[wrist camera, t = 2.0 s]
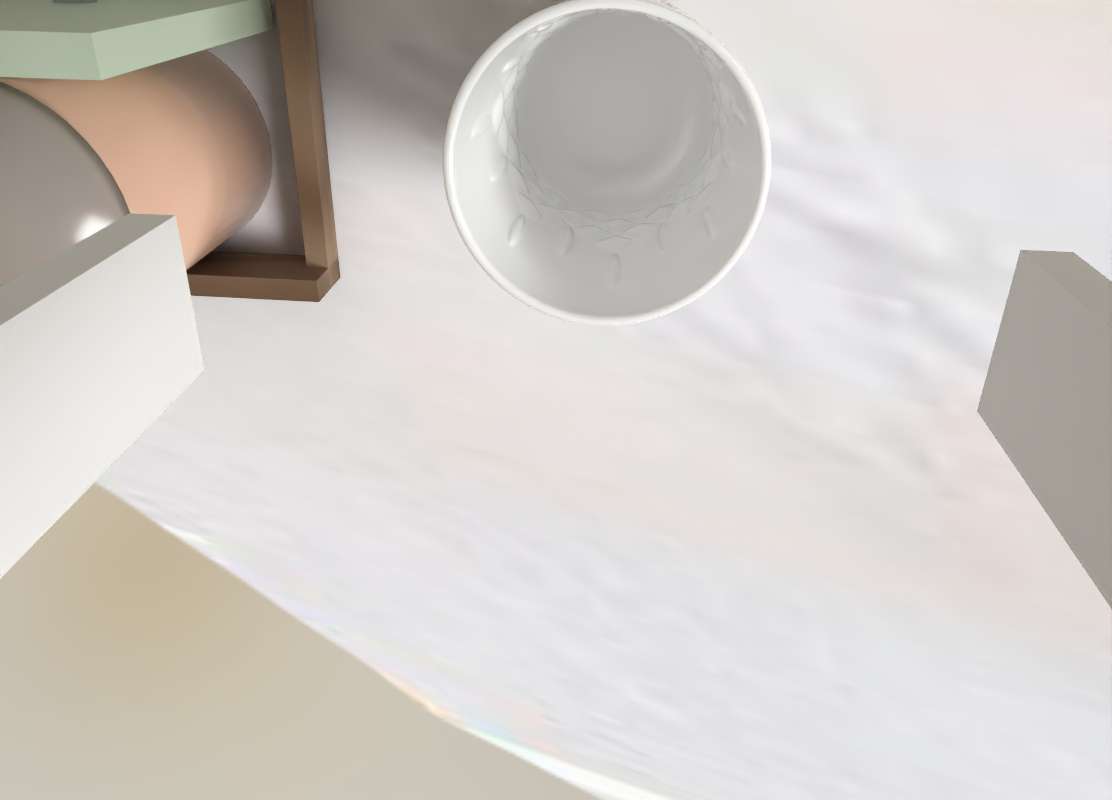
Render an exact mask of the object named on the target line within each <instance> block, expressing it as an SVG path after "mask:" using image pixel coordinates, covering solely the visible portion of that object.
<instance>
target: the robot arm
mask: <svg viewBox="0 0 1112 800" xmlns="http://www.w3.org/2000/svg"><path fill="white" fill-rule="evenodd" d="M204 370H205V368H204V363H203V358H202V352H201V347H200V342H199V336H198V331H197V326H196V320H195V315H194V310H193V304H192V299H191V294H190V289H189V283H188V278H187V273H186V267H185V262H184V257H183V251H182V246H181V241H180V235H179V230H178V225H177V219H176V215H158V214H134V213H129V214H128V215H126V216H124V217H122V218H121V219H119V220H117V221H115V222H114V223H112V224H110V225H108V226H107V227H105V228H103V229H101V230H99V231H98V232H96V233H94V234H92V235H91V236H89V237H87V238H85V239H84V240H82V241H80V242H78V243H77V244H75V245H73V246H71V247H70V248H68V249H66V250H64V251H63V252H61V253H59V254H57V255H56V256H54V257H52V258H50V259H48V260H47V261H45V262H43V263H41V264H40V265H38V266H36V267H34V268H33V269H31V270H29V271H27V272H26V273H24V274H22V275H20V276H19V277H17V278H15V279H13V280H12V281H10V282H8V283H6V284H5V285H3V286H1V287H0V578H1V577H2V576H3V575H4V574H5V573H6V572H7V571H8V570H9V569H10V568H11V567H12V566H13V565H14V564H15V563H16V562H17V561H18V560H19V559H20V558H21V557H22V556H23V555H24V554H25V553H26V552H27V551H28V550H29V549H30V548H31V547H32V545H34V544H35V543H36V541H37V540H38V539H39V538H40V537H41V536H42V535H43V534H44V533H45V532H46V531H47V530H48V529H49V528H50V527H51V526H52V525H53V524H54V523H55V522H56V521H57V520H58V519H59V518H60V517H61V516H62V515H63V514H64V513H65V512H66V511H67V510H68V509H69V508H70V507H71V506H72V505H73V504H74V503H75V502H76V501H77V500H78V499H79V498H80V497H81V496H82V494H84V492H85V491H86V490H87V489H88V488H89V487H90V486H91V485H92V484H93V483H94V482H95V481H96V480H97V479H98V478H99V477H100V476H101V475H102V474H103V473H104V472H105V471H106V470H107V469H108V468H109V467H110V466H111V465H112V464H113V463H114V462H115V461H116V460H117V459H118V458H119V457H120V456H121V455H122V454H123V453H124V452H125V451H126V450H127V449H128V448H129V447H130V445H131V444H132V443H133V442H134V441H135V440H136V439H137V438H138V437H139V436H140V435H141V434H142V433H143V432H144V431H145V430H146V429H147V428H148V427H149V426H150V425H151V424H152V423H153V422H154V421H155V420H156V419H157V418H158V417H159V416H160V415H161V414H162V413H163V412H164V411H165V410H166V409H167V408H168V407H169V406H170V405H171V404H172V403H173V402H174V401H175V400H176V398H177V397H178V396H179V395H180V394H181V393H182V392H183V391H184V390H185V389H186V388H187V387H188V386H189V385H190V384H191V383H192V382H193V381H194V380H195V379H196V378H197V377H198V376H199V375H200V374H201V373H202V372H203V371H204ZM977 411H978V413H979V414H980V416H981V417H982V419H983V420H984V422H985V423H986V425H987V426H988V427H989V429H990V430H991V432H992V433H993V435H994V436H995V438H996V439H997V441H998V442H999V444H1000V445H1001V447H1002V448H1003V450H1004V451H1005V453H1006V454H1007V455H1008V457H1009V458H1010V460H1011V461H1012V463H1013V464H1014V466H1015V467H1016V469H1017V470H1018V472H1019V473H1020V475H1021V476H1022V478H1023V479H1024V480H1025V482H1026V483H1027V485H1028V486H1029V488H1030V489H1031V491H1032V492H1033V494H1034V495H1035V497H1036V498H1037V500H1038V501H1039V503H1040V504H1041V506H1042V507H1043V508H1044V510H1045V511H1046V513H1047V514H1048V516H1049V517H1050V519H1051V520H1052V522H1053V523H1054V525H1055V526H1056V528H1057V529H1058V531H1059V532H1060V533H1061V535H1062V536H1063V538H1064V539H1065V541H1066V542H1067V544H1068V545H1069V547H1070V548H1071V550H1072V551H1073V553H1074V554H1075V556H1076V557H1077V559H1078V560H1079V561H1080V563H1081V564H1082V566H1083V567H1084V569H1085V570H1086V572H1087V573H1088V575H1089V576H1090V578H1091V579H1092V581H1093V582H1094V584H1095V585H1096V586H1097V588H1098V589H1099V591H1100V592H1101V594H1102V595H1103V597H1104V598H1105V600H1106V601H1107V603H1108V604H1109V606H1110V607H1111V609H1112V282H1111V281H1110V280H1109V279H1107V278H1106V277H1105V276H1103V275H1102V274H1101V273H1100V272H1098V271H1097V270H1096V269H1094V268H1093V267H1092V266H1090V265H1089V264H1088V263H1087V262H1085V261H1084V260H1083V259H1081V258H1080V257H1079V256H1078V255H1076V254H1075V253H1074V252H1055V251H1030V250H1020V254H1019V258H1018V261H1017V265H1016V269H1015V273H1014V276H1013V280H1012V284H1011V287H1010V291H1009V295H1008V298H1007V302H1006V306H1005V310H1004V313H1003V317H1002V321H1001V324H1000V328H999V332H998V336H997V339H996V343H995V347H994V350H993V354H992V358H991V362H990V365H989V369H988V373H987V376H986V380H985V384H984V388H983V391H982V395H981V399H980V402H979V406H978V410H977Z"/></svg>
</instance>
